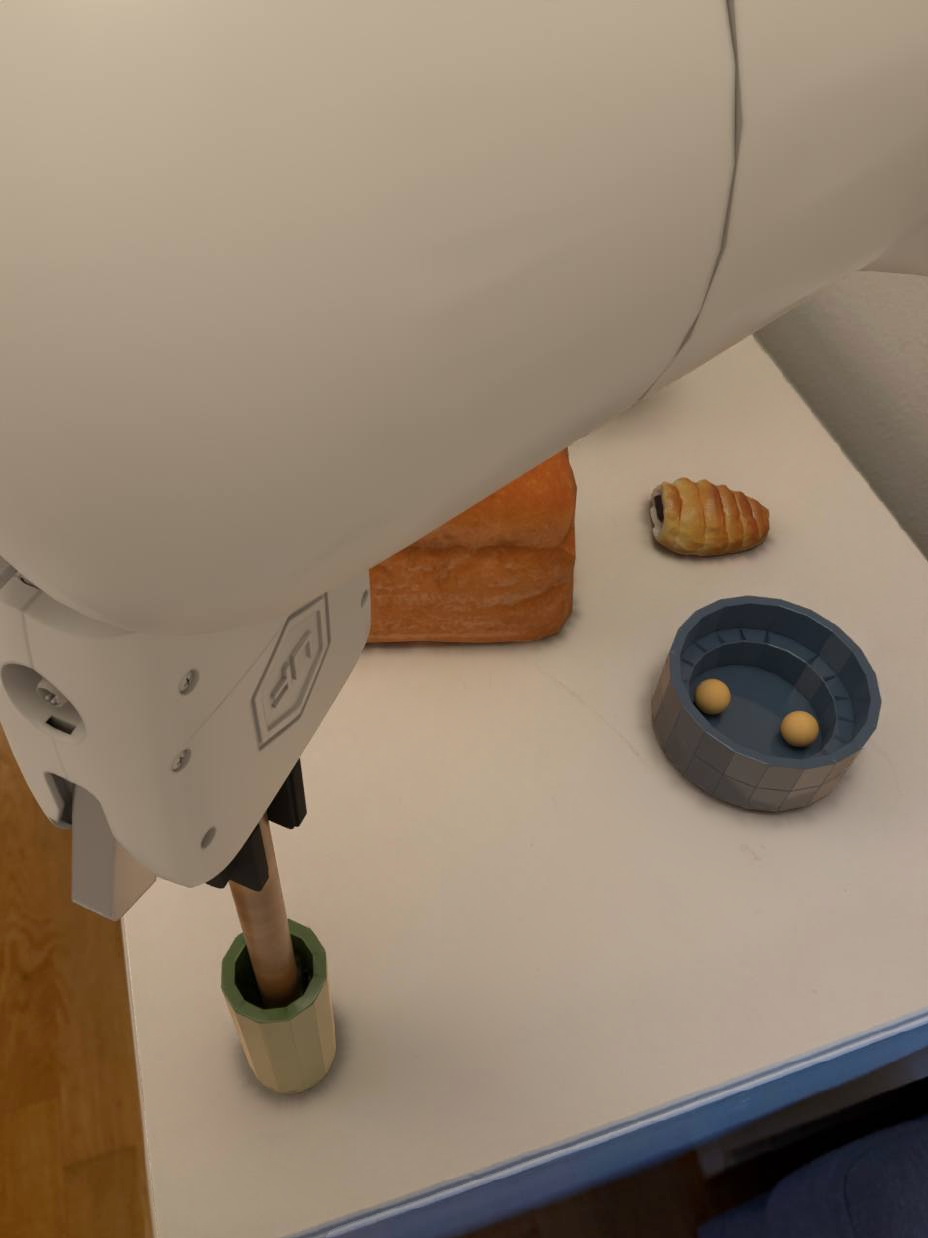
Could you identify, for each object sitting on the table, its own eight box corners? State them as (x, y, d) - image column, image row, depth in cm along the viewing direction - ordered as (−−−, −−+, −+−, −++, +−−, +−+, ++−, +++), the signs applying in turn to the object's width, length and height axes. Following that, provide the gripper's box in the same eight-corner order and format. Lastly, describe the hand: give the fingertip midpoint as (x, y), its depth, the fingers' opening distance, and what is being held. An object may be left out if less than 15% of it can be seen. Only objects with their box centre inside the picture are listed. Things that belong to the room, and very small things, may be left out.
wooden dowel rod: (298, 1077, 52) (228, 795, 29) (267, 1062, 53) (175, 771, 30) (320, 1033, 54) (270, 731, 31) (290, 1019, 54) (219, 710, 31)
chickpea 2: (808, 759, 67) (820, 739, 65) (772, 745, 67) (783, 726, 65) (814, 731, 68) (826, 711, 66) (779, 718, 69) (791, 698, 67)
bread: (577, 647, 72) (615, 496, 60) (197, 656, 69) (159, 500, 58) (552, 508, 81) (581, 352, 69) (213, 512, 78) (183, 350, 66)
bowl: (827, 847, 63) (863, 801, 59) (626, 768, 66) (644, 718, 61) (860, 689, 71) (894, 637, 67) (679, 624, 74) (699, 570, 69)
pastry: (756, 503, 83) (770, 469, 80) (772, 564, 79) (788, 531, 76) (643, 498, 82) (653, 463, 79) (654, 560, 78) (665, 526, 75)
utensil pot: (310, 1109, 52) (294, 1040, 43) (232, 1071, 53) (200, 995, 44) (350, 1025, 55) (344, 943, 45) (276, 990, 56) (255, 903, 46)
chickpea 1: (720, 726, 68) (730, 706, 66) (686, 713, 68) (695, 693, 67) (728, 699, 69) (738, 679, 68) (695, 687, 70) (703, 667, 68)
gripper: (50, 806, 15) (215, 1115, 29) (470, 270, 24) (438, 703, 38) (-341, 630, 16) (0, 1006, 30) (198, 190, 26) (265, 635, 40)
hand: (244, 835), depth 34 cm, fingers closed on wooden dowel rod, 1 cm apart
